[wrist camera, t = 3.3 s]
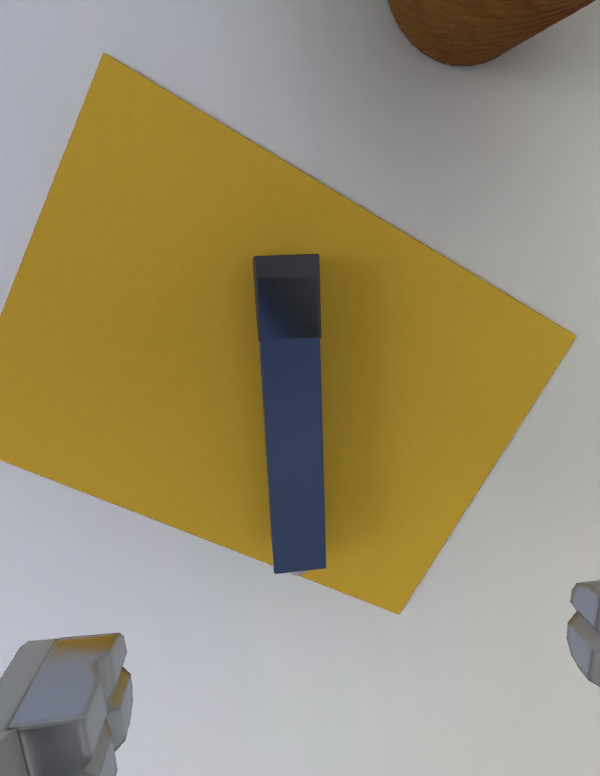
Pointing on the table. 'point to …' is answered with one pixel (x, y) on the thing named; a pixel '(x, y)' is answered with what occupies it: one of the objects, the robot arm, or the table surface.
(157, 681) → the table surface
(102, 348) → the cloth
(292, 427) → the tall navy blue post
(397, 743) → the table surface
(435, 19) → the disposable coffee cup
